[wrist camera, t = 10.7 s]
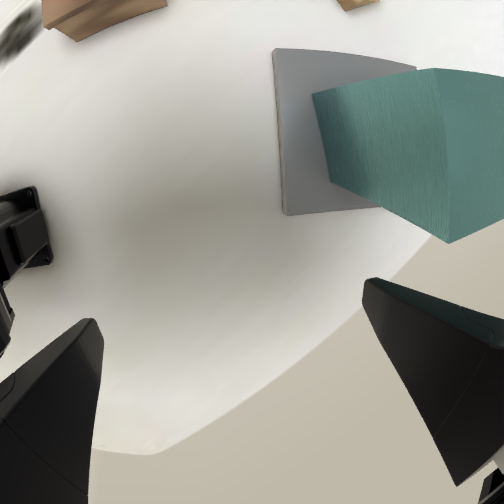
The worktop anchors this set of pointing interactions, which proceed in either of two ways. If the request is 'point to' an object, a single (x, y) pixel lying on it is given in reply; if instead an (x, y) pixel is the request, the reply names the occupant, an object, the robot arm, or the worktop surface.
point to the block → (354, 3)
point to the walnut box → (92, 14)
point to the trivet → (315, 124)
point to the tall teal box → (420, 146)
